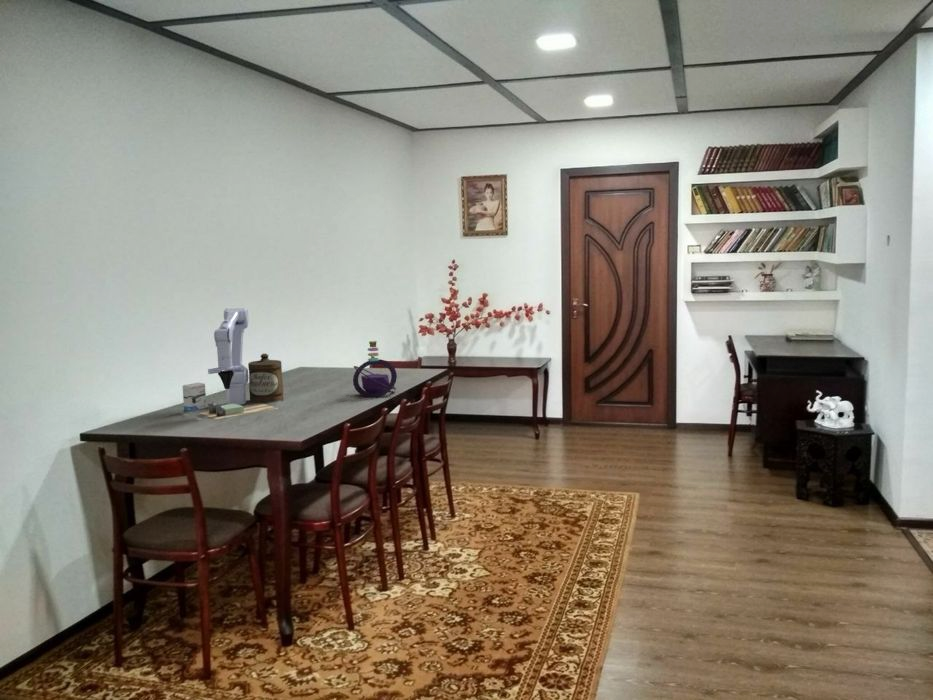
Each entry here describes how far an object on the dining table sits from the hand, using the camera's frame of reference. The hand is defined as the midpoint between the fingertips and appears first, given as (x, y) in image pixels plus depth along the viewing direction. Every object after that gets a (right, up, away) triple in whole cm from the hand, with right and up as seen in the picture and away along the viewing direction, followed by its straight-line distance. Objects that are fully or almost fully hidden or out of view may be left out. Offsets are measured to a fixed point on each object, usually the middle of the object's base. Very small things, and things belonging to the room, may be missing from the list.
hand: (227, 388), depth 325 cm
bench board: (+5, -10, 0) cm, 12 cm away
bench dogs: (-2, -11, -6) cm, 13 cm away
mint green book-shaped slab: (+2, -10, -3) cm, 10 cm away
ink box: (-16, -10, +8) cm, 21 cm away
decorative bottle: (+59, -5, +36) cm, 69 cm away
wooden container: (+11, -7, +24) cm, 28 cm away
